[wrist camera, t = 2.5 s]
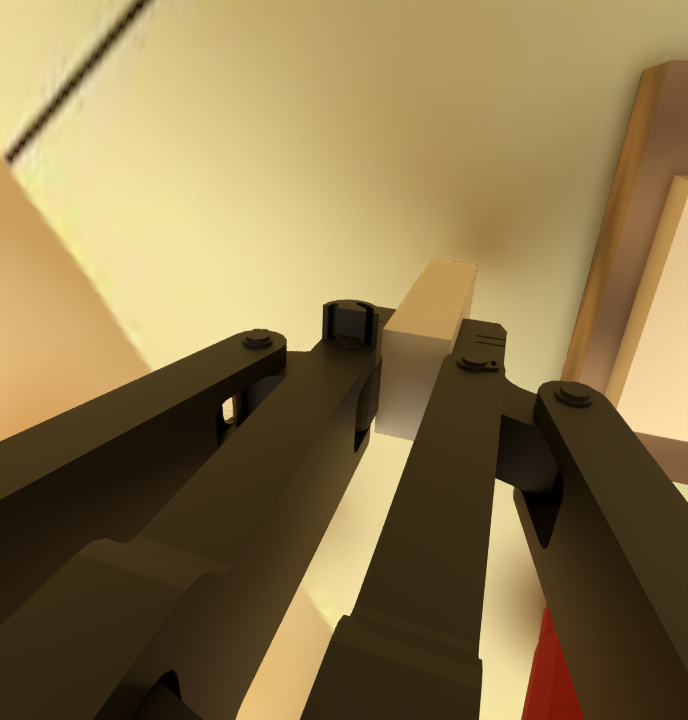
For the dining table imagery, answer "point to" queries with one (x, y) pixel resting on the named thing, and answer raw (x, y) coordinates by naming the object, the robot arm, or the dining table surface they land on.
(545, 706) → the plastic cup
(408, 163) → the dining table surface
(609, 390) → the tile
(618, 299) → the brown block
